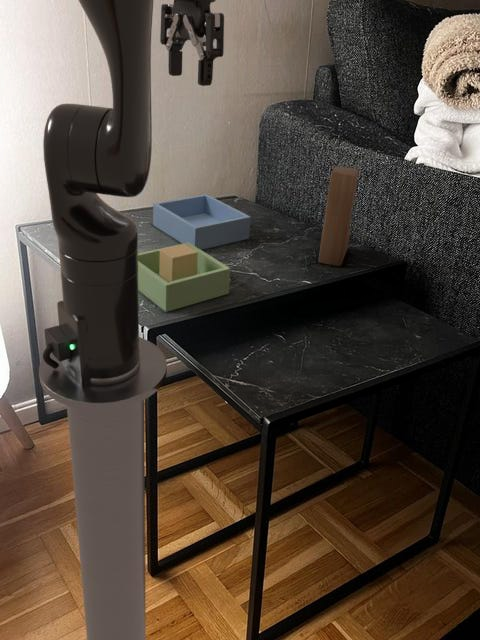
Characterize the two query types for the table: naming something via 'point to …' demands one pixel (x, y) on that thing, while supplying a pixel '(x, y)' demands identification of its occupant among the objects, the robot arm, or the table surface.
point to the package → (178, 262)
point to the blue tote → (201, 221)
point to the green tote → (182, 281)
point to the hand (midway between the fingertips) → (189, 80)
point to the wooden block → (338, 215)
